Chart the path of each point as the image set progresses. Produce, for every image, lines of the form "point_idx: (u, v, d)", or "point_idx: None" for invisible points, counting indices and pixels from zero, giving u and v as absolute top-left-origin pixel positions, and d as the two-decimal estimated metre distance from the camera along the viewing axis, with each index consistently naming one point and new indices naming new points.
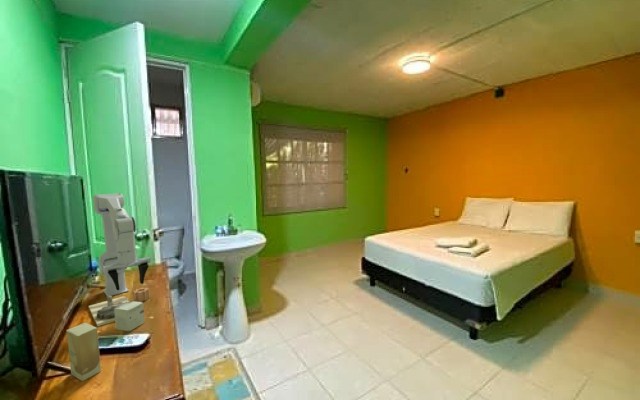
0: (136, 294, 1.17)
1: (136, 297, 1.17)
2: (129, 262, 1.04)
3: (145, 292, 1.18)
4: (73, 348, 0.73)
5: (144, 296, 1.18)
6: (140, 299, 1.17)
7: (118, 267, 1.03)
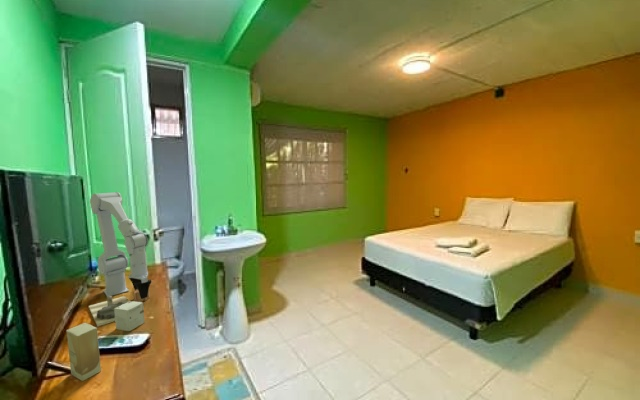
0: (136, 294, 1.17)
1: (136, 297, 1.17)
2: (131, 274, 1.16)
3: None
4: (72, 348, 0.73)
5: None
6: (140, 299, 1.17)
7: None
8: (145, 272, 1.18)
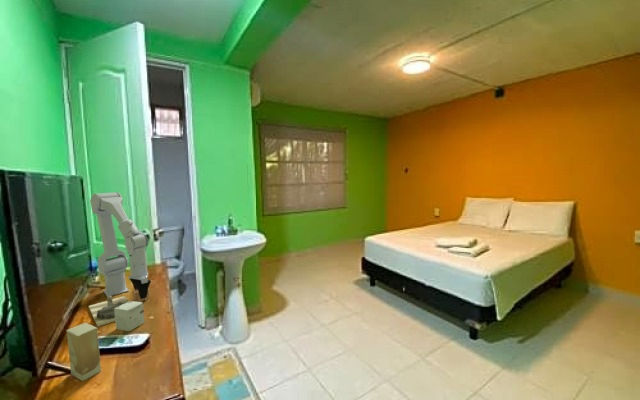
0: (136, 294, 1.17)
1: (136, 297, 1.17)
2: (131, 275, 1.16)
3: None
4: (73, 348, 0.73)
5: None
6: (140, 299, 1.17)
7: None
8: (145, 273, 1.18)
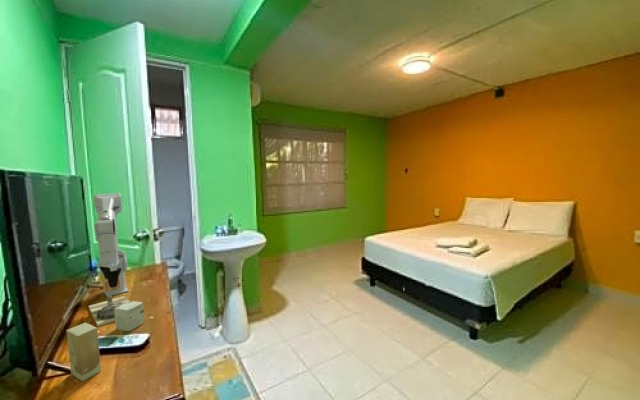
0: (106, 283, 1.10)
1: (106, 286, 1.10)
2: (100, 262, 1.09)
3: None
4: (73, 348, 0.73)
5: None
6: (110, 288, 1.10)
7: None
8: (115, 260, 1.11)
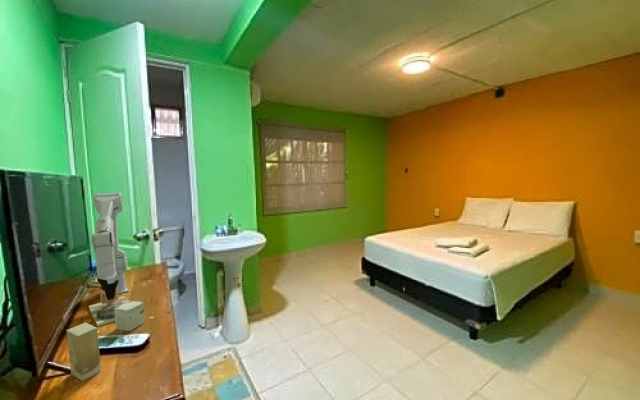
0: (103, 295, 1.10)
1: (103, 298, 1.10)
2: None
3: None
4: (73, 348, 0.73)
5: None
6: (107, 300, 1.10)
7: None
8: (113, 272, 1.11)
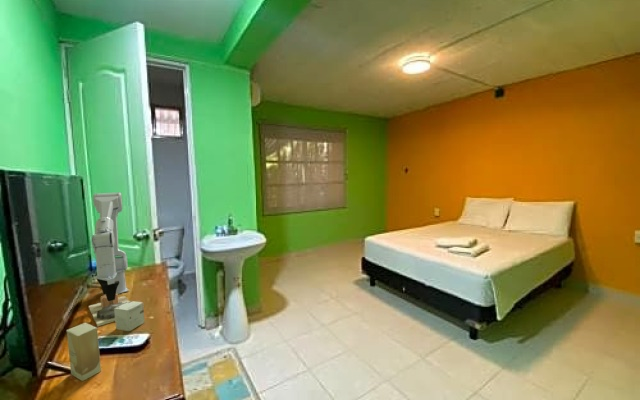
0: (103, 300, 1.10)
1: (103, 303, 1.10)
2: None
3: None
4: (73, 348, 0.73)
5: (112, 302, 1.11)
6: (108, 305, 1.10)
7: None
8: (113, 273, 1.11)
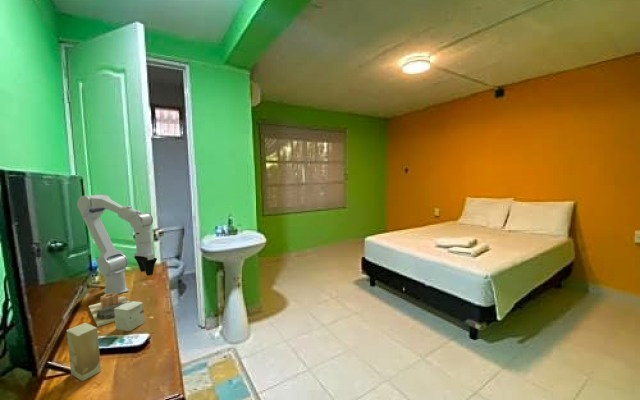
0: (103, 300, 1.10)
1: (103, 303, 1.10)
2: (137, 252, 1.20)
3: (113, 297, 1.11)
4: (73, 348, 0.73)
5: (112, 302, 1.11)
6: (108, 305, 1.10)
7: None
8: (150, 250, 1.22)
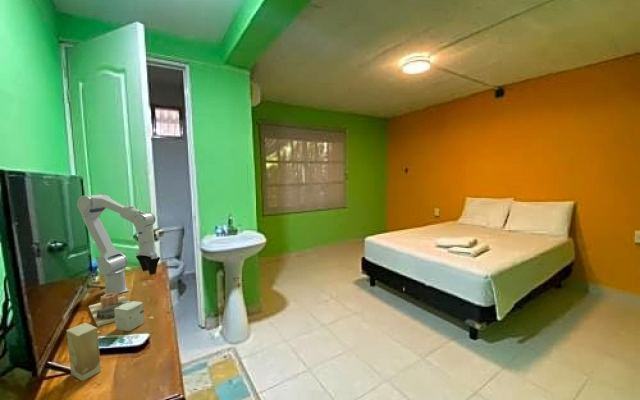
0: (103, 300, 1.10)
1: (103, 303, 1.10)
2: (139, 252, 1.21)
3: (113, 297, 1.11)
4: (73, 348, 0.73)
5: (112, 302, 1.11)
6: (108, 305, 1.10)
7: None
8: (153, 250, 1.23)
